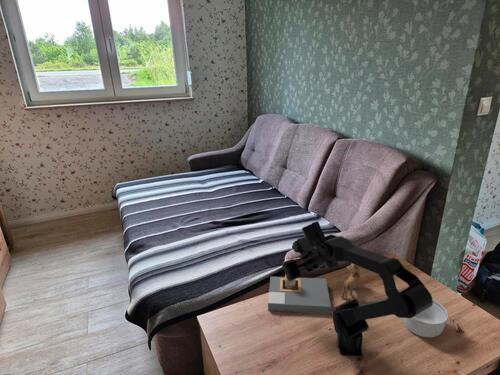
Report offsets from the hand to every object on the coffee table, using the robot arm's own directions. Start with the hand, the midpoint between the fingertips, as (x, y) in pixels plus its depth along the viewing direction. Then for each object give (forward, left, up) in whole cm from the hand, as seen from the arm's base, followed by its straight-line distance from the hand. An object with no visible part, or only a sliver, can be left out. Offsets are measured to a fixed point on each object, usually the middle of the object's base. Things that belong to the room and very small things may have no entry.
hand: (297, 269), depth 112 cm
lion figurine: (-20, -6, -13) cm, 25 cm away
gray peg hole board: (0, -1, -13) cm, 13 cm away
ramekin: (-40, +10, -13) cm, 44 cm away
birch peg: (+3, -4, -13) cm, 13 cm away
